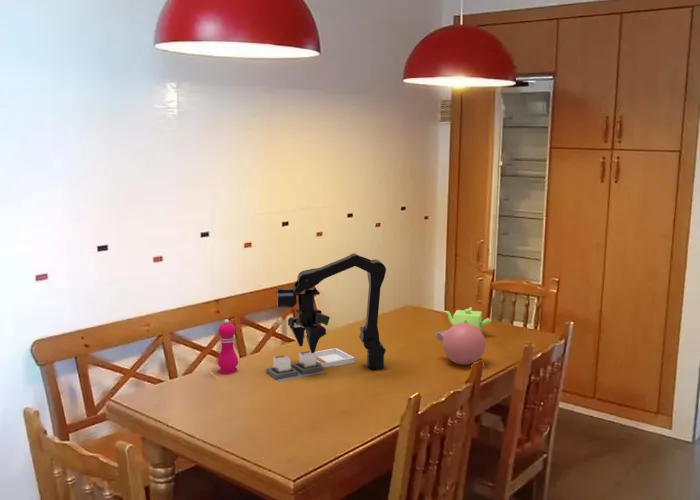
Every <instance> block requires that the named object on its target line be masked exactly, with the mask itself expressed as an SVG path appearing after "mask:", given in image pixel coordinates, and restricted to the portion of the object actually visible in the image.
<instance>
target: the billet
mask: <svg viewBox="0 0 700 500" xmlns="http://www.w3.org/2000/svg"><path fill="white" fill-rule="evenodd" d="M272 360H273V361H272V362H273V363H272V364H273V365H272V366H273V367H272V368H274V372H275V373H277V374H281V373H286V372H291V367H292V363H291V360H292V359H291V358H290V357H289V356H287V355H278V356H273V357H272Z"/></svg>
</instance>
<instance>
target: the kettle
mask: <svg viewBox="0 0 700 500" xmlns="http://www.w3.org/2000/svg"><path fill="white" fill-rule="evenodd" d="M443 312H444V313H445V314H446V315H447V317H448V322H449V323H450V324H451V326H453V325H455V324H458V323H470V324H472V325H474V326H476V327H477V328H479V330H480V331H481V332H482V328H483V327H485V326H486V325H488V324H490V323H491V322H492V320H491V318H489V317H487V318H485V319H484V320H482V317H483V315H482V313H483V311H482V310H481V311H479V310H473V307H471V306H469V308H464V310H462V309H456V311H455V312H454V314H453V316H452V314H451V312H450V311H449V310H443Z"/></svg>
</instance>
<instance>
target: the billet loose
mask: <svg viewBox="0 0 700 500" xmlns="http://www.w3.org/2000/svg"><path fill="white" fill-rule="evenodd" d="M316 360H317V356H316V354H315V353H311V351H310V350H307V351H301V352H298V363H299V367H301V368H303V369H307V368H313V367H316Z"/></svg>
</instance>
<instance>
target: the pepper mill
mask: <svg viewBox="0 0 700 500" xmlns="http://www.w3.org/2000/svg"><path fill="white" fill-rule="evenodd" d="M223 321H224V322H223V323H222V324H221V325H220V326H219V327H218V331H217V332H218V335H219V336H220V337H219V341H220V342H221V349H220V353H219V355H218V357H217V366H218V367H219V370H218V372H219V373H220V374H222V375H232V374H235V373H237V372H238V367H237V366H238V364H239V359H238V355H237V354H236V351H235V349H234V342H235V334H236V332H237V331H236V327H235V326H234V324H233V323H230V320H229V319H224V320H223Z"/></svg>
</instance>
